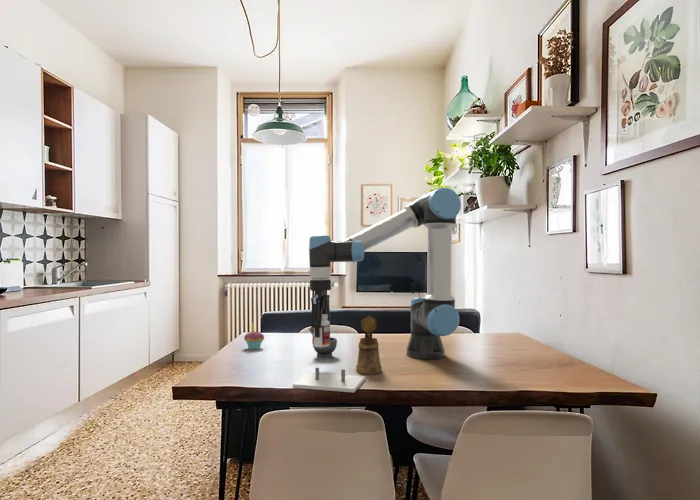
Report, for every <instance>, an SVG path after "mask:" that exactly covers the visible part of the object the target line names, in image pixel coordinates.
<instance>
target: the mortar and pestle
mask: <svg viewBox="0 0 700 500" xmlns="http://www.w3.org/2000/svg"><path fill="white" fill-rule="evenodd" d="M308 331H309V332H310V334H311V335H312V337H313V328H311V327H309V329H308ZM311 340H312V341H311V342H312V348H313V349H314V351H315V352H316V358H317V357H318V359H324V358H326V359H331V358H333V353H334V351H336V348H337V344H338V339H337V338H336V337H331V336H330V345H329V346H328V347H314V346H313V338H312V339H311Z"/></svg>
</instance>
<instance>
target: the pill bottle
mask: <svg viewBox="0 0 700 500" xmlns="http://www.w3.org/2000/svg"><path fill="white" fill-rule="evenodd" d="M327 319H328V314H322V320H321V328H322V347H328V346H329V345H330V337H331V324H330V322H331V321H330V322H329V321H328V320H327ZM312 339H313V344H312V347H313V346H314V328H313V336H312Z"/></svg>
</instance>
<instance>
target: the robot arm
mask: <svg viewBox="0 0 700 500" xmlns="http://www.w3.org/2000/svg"><path fill="white" fill-rule="evenodd" d="M461 207H462V202H461V198H460V197H459V194H458V193H457V192H456V191H455V190H453V189H451V188H449V187H440V188H435V189H433V190H432V191H429V192H427V193H424V194H422V195H421V196H419V197H418V198H417V199H415V200H413V202H411V203H409V204H407V205H405V206H404V208H403V209H402V210H401V211H399V212H397V213H395V214H393V215H391V216H389V217H387V218H385V219H383V220H381V221H379V222H377V223H375V224H373V225H371V226H369V227H367V228H365V229H363V230H362V231H359V232H357V233H355V234H353V235H351V236H349V237H347V238H345V239H343V240H336V241H335V240H332V239H331V236H330V235H325V234H324V235H323V234H322V235H311V236H310V238H309V240H308V241H309V242H308V243H309V244H308V247H309V248H308V252H309V253H308V256H309V260H308V261H309V270H308V273H309V279H310V281H309V289H310V291H311V292H312V291H313V292H314V295H313V297H311V298H310V302H311V326H310V328H314V347H322V328H321V320H322V314H328V319H327V320H328V321H329V322H330V325H331V314H330V313H331V310H330V309H331V308H330V306H331V305H330V297H331V296H330V294H327V291H330V290H332V280H331V279H330V278H332V266H331V265H332V264H331V263H345V262H346V263H349V262H350V263H351V262H352V263H357V262H362V261H363V260H364V258H365V251H367V250H369V249H371V248H373V247H375V246H377V245H379V244H381V243H384V242H385V241H387V240H389V239H391V238H393V237H395V236H397V235H399V234H401V233H403V232H405V231H407V230H409V229H411V228H414V229H416V228H419V227H421V226H422V225H424V227H425V228H427V284H426V285H427V286H426V287H427V289H426V290H427V291H426V294H425V295H424V296H423V297H414V298H411V300H410V307H409V308H410V337H409V340H408V342H407V343H408V344H407V346H406V356H407V357H410V358H412V359H420V360H436V359H437V360H439V359H441V358H445V356H446V355H445V353H446V351H445V347H444V344H443V341H442V337H447V336H449V335H452V334H453V333H454V332H455V331H456V330H457V329H458V327H459V324H460V313H459V312H458V310H457V308H456V306H455V305H456V299H455V297H454V296H453V295H452V294H451V292H452V288H451V287H452V230H453V229H454V227H456V225H457V222H456V221H457V215H458V214H459V213H460V210H461ZM314 347H313V348H314Z"/></svg>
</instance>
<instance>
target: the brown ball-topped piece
mask: <svg viewBox="0 0 700 500" xmlns="http://www.w3.org/2000/svg"><path fill="white" fill-rule="evenodd" d="M360 329H361V331H362V332H363V333H364V337H360V339H359V342H358V349H359V350H358V354H357V355H358V356H357V364H356V366H355V367H356V368H355V369H356V371H355V372H356V373H359V374H362V375H377V374H381V373H382V372H383V369H382V365H381V359H380V352H379V351H380V350H379V342H378V338H376V337H375V338H373V333H375V332H376V331H377V330H378V321H377V320H376V318H374V317H373V316H372V315H368V316H366V317H364V318H363V319H362V320H361V321H360Z"/></svg>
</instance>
